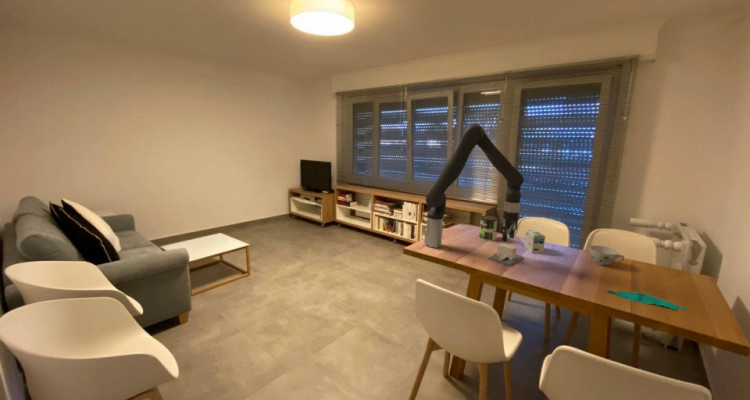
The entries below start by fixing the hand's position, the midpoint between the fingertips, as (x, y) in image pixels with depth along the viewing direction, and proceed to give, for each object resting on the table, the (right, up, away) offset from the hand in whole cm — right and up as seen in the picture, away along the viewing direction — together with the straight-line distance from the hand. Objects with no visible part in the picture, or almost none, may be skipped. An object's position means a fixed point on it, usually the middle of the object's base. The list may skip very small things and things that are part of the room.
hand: (507, 239), depth 167 cm
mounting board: (0, -11, +2) cm, 11 cm away
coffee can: (+2, -4, +35) cm, 36 cm away
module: (0, -10, +2) cm, 10 cm away
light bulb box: (+22, -8, +16) cm, 29 cm away
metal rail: (0, -11, +2) cm, 11 cm away
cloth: (+41, -21, -38) cm, 59 cm away
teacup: (+50, -13, -2) cm, 51 cm away
